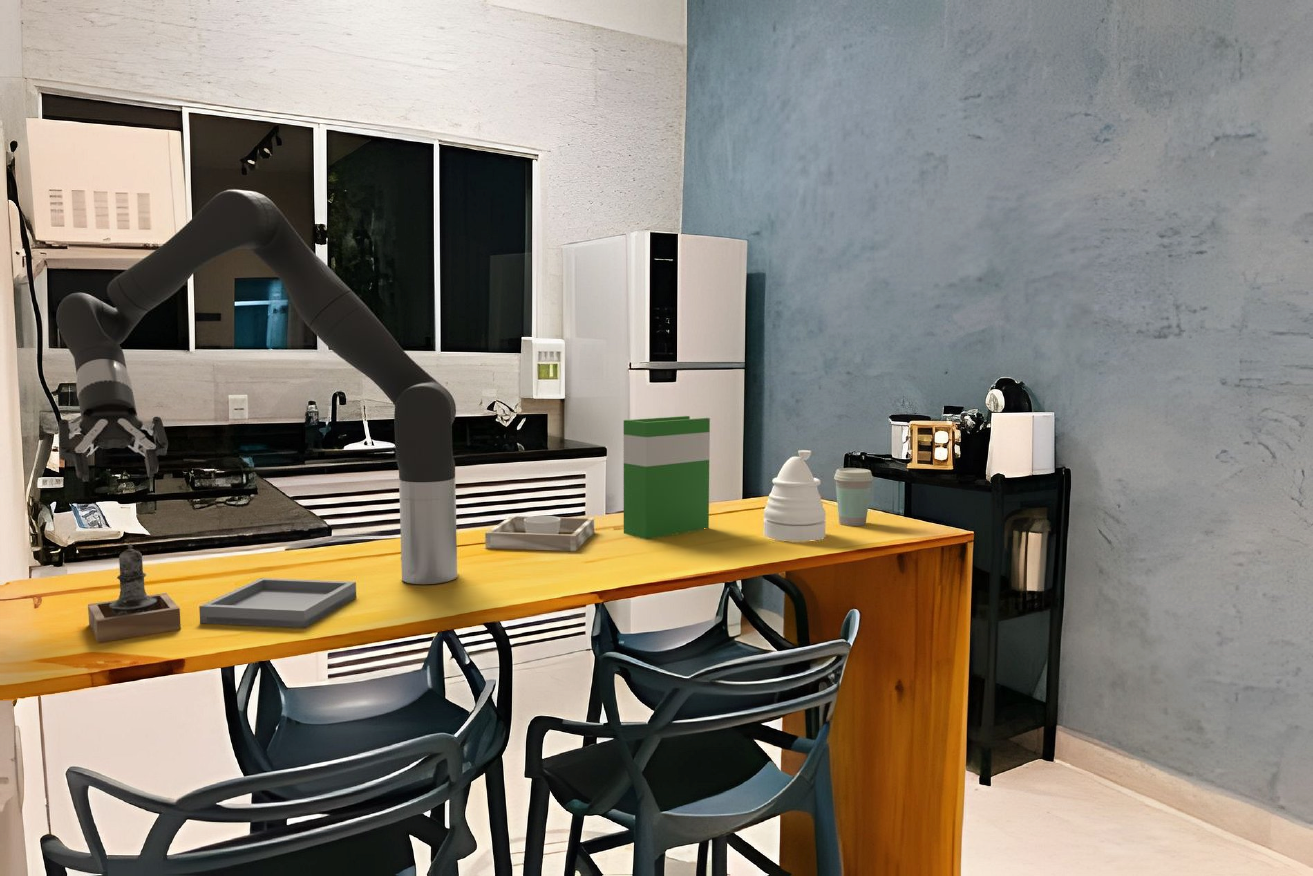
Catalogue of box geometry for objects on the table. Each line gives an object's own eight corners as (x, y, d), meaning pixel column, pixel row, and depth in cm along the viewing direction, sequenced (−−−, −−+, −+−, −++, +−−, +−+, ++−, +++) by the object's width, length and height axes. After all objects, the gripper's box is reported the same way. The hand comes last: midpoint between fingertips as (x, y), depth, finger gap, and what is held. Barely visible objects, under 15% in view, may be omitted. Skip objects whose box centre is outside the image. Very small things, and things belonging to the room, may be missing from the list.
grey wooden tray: (512, 529, 200) (511, 515, 200) (594, 532, 198) (594, 518, 198) (485, 548, 183) (485, 532, 182) (575, 551, 180) (575, 535, 180)
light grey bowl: (563, 547, 184) (563, 524, 184) (513, 546, 185) (513, 523, 184) (570, 536, 194) (569, 514, 194) (522, 536, 195) (522, 514, 194)
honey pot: (834, 533, 197) (836, 449, 196) (811, 545, 186) (813, 455, 185) (777, 527, 204) (779, 445, 202) (753, 538, 193) (754, 451, 191)
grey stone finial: (143, 618, 136) (138, 537, 135) (166, 625, 133) (162, 542, 132) (101, 629, 131) (96, 545, 130) (125, 636, 128) (120, 550, 127)
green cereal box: (686, 523, 208) (686, 416, 206) (708, 528, 203) (709, 418, 200) (623, 533, 197) (623, 420, 194) (645, 539, 191) (645, 422, 189)
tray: (261, 593, 149) (261, 578, 149) (356, 597, 147) (355, 581, 147) (200, 623, 134) (199, 606, 133) (304, 628, 132) (304, 610, 131)
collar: (89, 624, 133) (87, 604, 132) (167, 612, 139) (166, 592, 138) (98, 643, 125) (96, 621, 125) (180, 629, 131) (179, 608, 131)
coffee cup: (866, 519, 213) (867, 467, 211) (876, 527, 204) (878, 473, 203) (829, 520, 212) (830, 467, 211) (837, 527, 204) (839, 473, 203)
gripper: (52, 379, 140) (64, 463, 132) (158, 378, 149) (175, 457, 141) (51, 411, 145) (62, 495, 137) (154, 409, 154) (169, 487, 146)
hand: (119, 476), depth 139 cm, fingers open, 8 cm apart
